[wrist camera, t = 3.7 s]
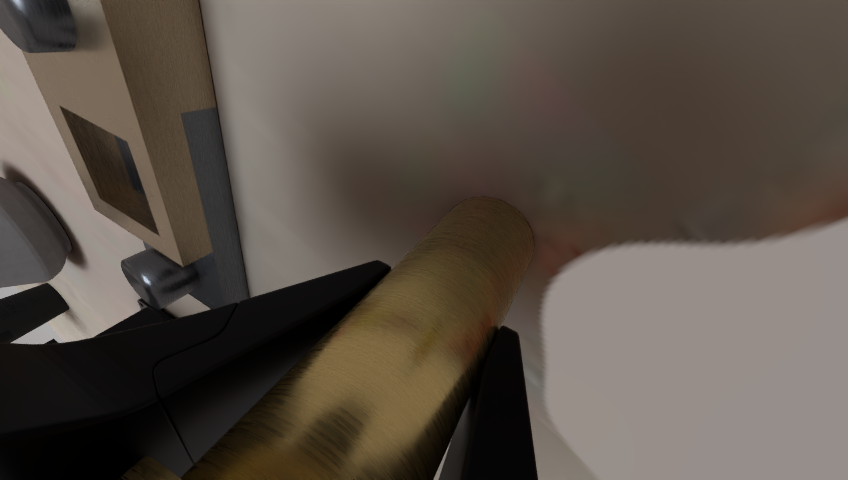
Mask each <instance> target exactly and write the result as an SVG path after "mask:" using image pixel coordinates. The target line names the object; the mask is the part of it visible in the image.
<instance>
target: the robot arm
mask: <svg viewBox="0 0 848 480" xmlns="http://www.w3.org/2000/svg"><path fill="white" fill-rule="evenodd" d="M390 271H391V267H390V266H389V265H387V264H385V263H383V262H381V261H379V260H375V261H371V262H368V263H365V264H362V265H358V266H355V267H352V268H348V269H345V270H342V271H338V272H335V273H332V274H328V275H325V276H322V277H318V278H315V279H312V280H308V281H305V282H302V283H298V284H295V285H292V286H288V287H285V288H282V289H278V290H275V291H272V292H268V293H265V294H262V295H259V296H255V297H252V298H249V299H245V300H242V301H240V302H239V303H237V302H235V303H232V304H228V305H225V306H222V307H218V308H215V309H211V310H207V311H204V312H200V313H197V314H193V315H189V316H185V317H181V318H177V319H173V318H171V317H170V316H168V315H167V314H166V313H164V312H163V311H162V310H160V309H156V308H154V307H152V306H151V305H149V304H148V303H147V302H146V301H145V300H143V299H142V298H141V299H139V300H138V303H139V305H140V308H141V311H139V312H137V313H135V314H134V315H132V316H130V317H128V318H127V319H125V320H123V321H121V322H119V323H118V324H116V325H114V326H112V327H111V328H109V329H107V330H105V331H104V332H102V333H100V334H98V335H96V336H95V337H93V338H89V339H84V340H79V341H73V342H65V343H58V342H57V341H55V340H54V339H52V340H51V341H49V342H47V343H45V344H34V345H33V344H14V343H0V480H118V479H119V478H120V477H121V476H122V475H124V474H125V473H126V472H127V471H128V470H129V469H130V468H132V467H133V466H134V465H135V464H136V463H137V462H138V461H140V460H141V459H142V458H143V457H144V456H148V457H150V458H152V459H154V460H156V461H157V462H159V463H160V464H162V465H163V466H165V467H166V468H167V469H169V470H170V471H171V472H173V473H174V474H175V475H177V476H178V477H179V478H181V477H182V476H183V475H184V474H185V473H186V472H187V471H188V470H189V469H190V468H191V467H192V466H193V465H194V464H195V463H196V462H197V461H198V460H199V459H200V458H201V457H202V456H203V455H204V454H205V453H206V452H207V451H208V450H209V449H210V448H211V447H212V446H213V445H214V444H215V443H216V442H217V441H218V440H219V439H220V438H221V437H222V436H223V435H224V434H225V433H226V432H227V431H228V430H229V429H230V428H231V427H232V426H233V425H234V424H235V423H236V422H237V421H238V420H239V419H240V418H241V417H242V416H243V415H245V414H246V413H247V412H248V411H249V410H250V409H251V408H252V407H253V406H254V405H255V404H256V403H257V402H258V401H259V400H260V399H261V398H262V397H263V396H264V395H265V394H266V393H267V392H268V391H269V390H270V389H271V388H272V387H273V386H274V385H275V384H276V383H277V382H278V381H279V380H280V379H281V378H282V377H283V376H284V375H285V374H286V373H287V372H288V371H289V370H290V369H291V368H292V367H293V366H294V365H295V364H296V363H297V362H298V361H299V360H300V359H301V358H302V357H303V356H304V355H305V354H306V353H307V352H308V351H309V350H310V349H311V348H312V347H313V346H314V345H315V344H317V343H318V342H319V341H320V340H321V339H322V338H323V337H324V336H325V335H326V334H327V333H328V332H329V331H330V330H331V329H332V328H333V327H334V326H335V325H336V324H337V323H338V322H339V321H340V320H341V319H342V318H343V317H344V316H345V315H346V314H347V313H348V312H349V311H350V310H351V309H352V308H353V307H354V306H355V305H356V304H357V303H358V302H359V301H360V300H361V299H362V298H363V297H364V296H365V295H366V294H367V293H368V292H369V291H370V290H371V289H372V288H373V287H374V286H375V285H376V284H377V283H378V282H379V281H380V280H381V279H382V278H383V277H384V276H385V275H386V274H387V273H389V272H390ZM439 480H538V476H537V468H536V461H535V453H534V446H533V438H532V431H531V423H530V416H529V408H528V401H527V393H526V386H525V378H524V371H523V363H522V356H521V348H520V340H519V335H518V333H517V332H516V331H514V330H512V329H510V328H508V327H506V326H501V327H500V329H499V331H498V333H497V335H496V337H495V340H494V342H493V344H492V346H491V349H490V351H489V353H488V355H487V358H486V360H485V362H484V364H483V366H482V369H481V371H480V373H479V376H478V378H477V381H476V384H475V386H474V388H473V391H472V393H471V395H470V398H469V400H468V402H467V404H466V407H465V409H464V411H463V413H462V416H461V418H460V420H459V422H458V425H457V427H456V429H455V431H454V434H453V437H452V440H451V443H450V446H449V449H448V452H447V455H446V459H445V462H444V465H443V468H442V471H441V474H440V477H439Z"/></svg>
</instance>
